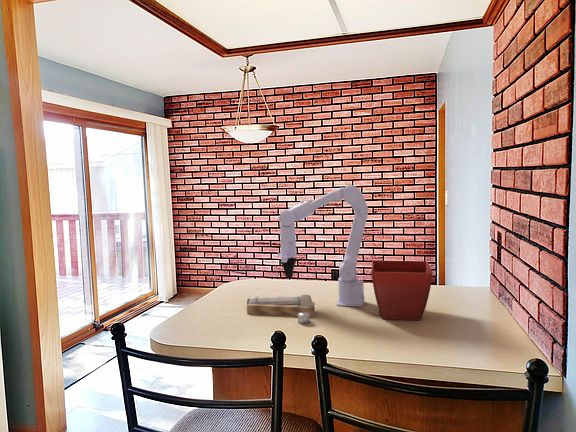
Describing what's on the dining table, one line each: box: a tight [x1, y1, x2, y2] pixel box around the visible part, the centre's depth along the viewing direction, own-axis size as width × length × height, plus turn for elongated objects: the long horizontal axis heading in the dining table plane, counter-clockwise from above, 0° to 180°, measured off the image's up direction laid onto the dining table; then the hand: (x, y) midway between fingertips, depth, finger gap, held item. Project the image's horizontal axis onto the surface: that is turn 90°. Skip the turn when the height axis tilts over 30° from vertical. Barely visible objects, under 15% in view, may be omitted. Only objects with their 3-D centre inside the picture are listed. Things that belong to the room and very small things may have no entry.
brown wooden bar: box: [246, 304, 316, 317], centre depth 160 cm, size 24×2×3 cm, turn 76°
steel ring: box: [297, 312, 311, 325], centre depth 150 cm, size 4×4×3 cm
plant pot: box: [370, 260, 434, 321], centre depth 155 cm, size 19×19×17 cm
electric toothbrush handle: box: [246, 294, 316, 306], centre depth 165 cm, size 5×7×25 cm
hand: (289, 277), depth 172 cm, fingers closed
